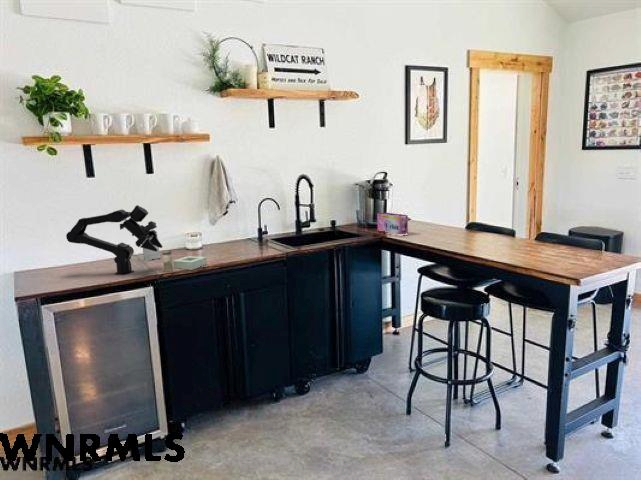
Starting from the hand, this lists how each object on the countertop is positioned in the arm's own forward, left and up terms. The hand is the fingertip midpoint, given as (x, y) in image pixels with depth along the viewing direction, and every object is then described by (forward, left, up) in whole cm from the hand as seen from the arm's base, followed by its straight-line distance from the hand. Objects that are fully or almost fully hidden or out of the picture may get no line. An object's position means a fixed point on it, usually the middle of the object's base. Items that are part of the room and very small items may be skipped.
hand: (159, 249), depth 248 cm
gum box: (+130, -84, -12) cm, 155 cm away
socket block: (+13, -8, -11) cm, 19 cm away
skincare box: (+22, +27, -12) cm, 36 cm away
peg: (+2, -3, -11) cm, 12 cm away
